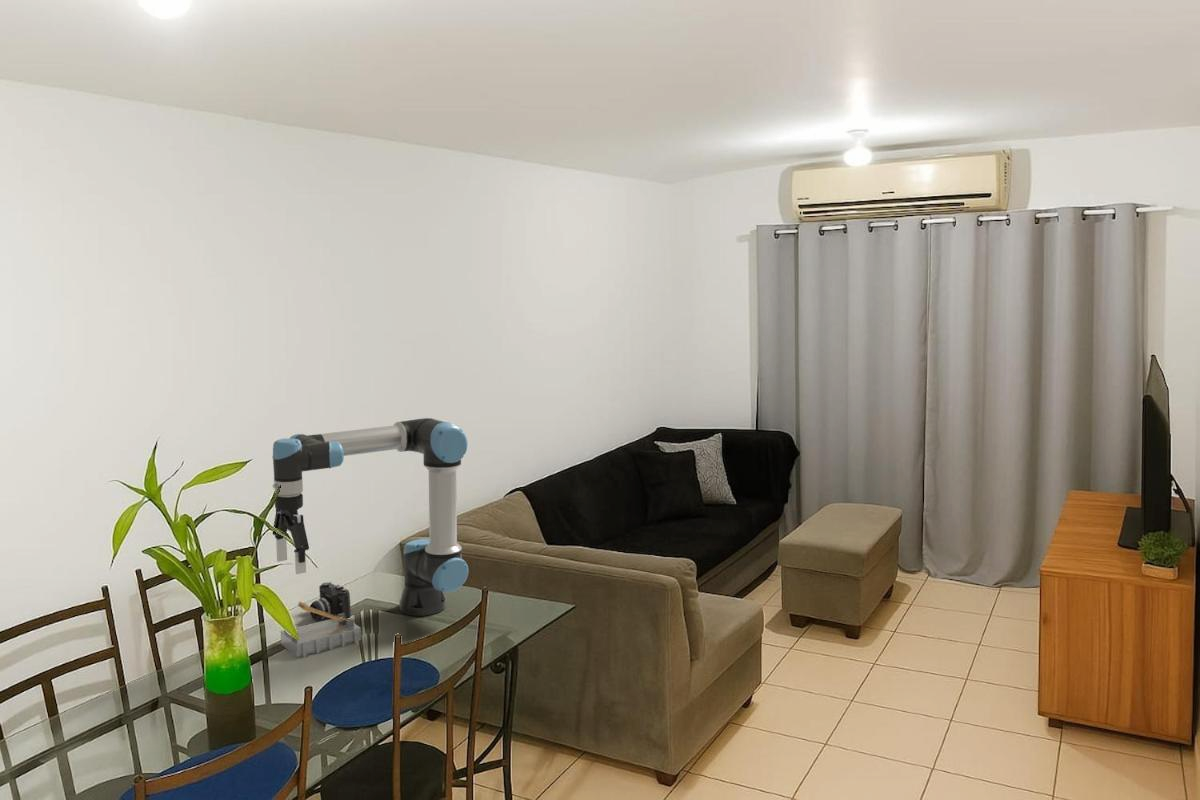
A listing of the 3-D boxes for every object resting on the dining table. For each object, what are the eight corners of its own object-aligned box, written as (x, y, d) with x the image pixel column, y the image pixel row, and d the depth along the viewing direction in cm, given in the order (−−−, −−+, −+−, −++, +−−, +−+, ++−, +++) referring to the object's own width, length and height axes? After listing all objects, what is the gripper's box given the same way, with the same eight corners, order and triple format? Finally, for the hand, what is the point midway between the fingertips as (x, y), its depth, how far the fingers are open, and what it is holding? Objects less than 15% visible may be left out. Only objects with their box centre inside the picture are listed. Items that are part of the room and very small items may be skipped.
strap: (343, 620, 288) (345, 616, 288) (350, 625, 284) (352, 621, 284) (297, 605, 278) (299, 601, 278) (304, 610, 274) (306, 606, 274)
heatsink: (342, 627, 293) (341, 607, 292) (362, 641, 282) (361, 620, 281) (279, 643, 280) (279, 622, 279) (298, 658, 270) (297, 637, 269)
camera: (300, 615, 302) (299, 586, 300) (330, 606, 310) (329, 578, 309) (325, 627, 293) (324, 597, 291) (354, 618, 301) (354, 588, 299)
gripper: (259, 487, 268) (262, 558, 271) (293, 505, 249) (295, 581, 253) (284, 483, 273) (287, 553, 276) (319, 501, 254) (322, 575, 257)
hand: (291, 566), depth 264 cm, fingers open, 13 cm apart
